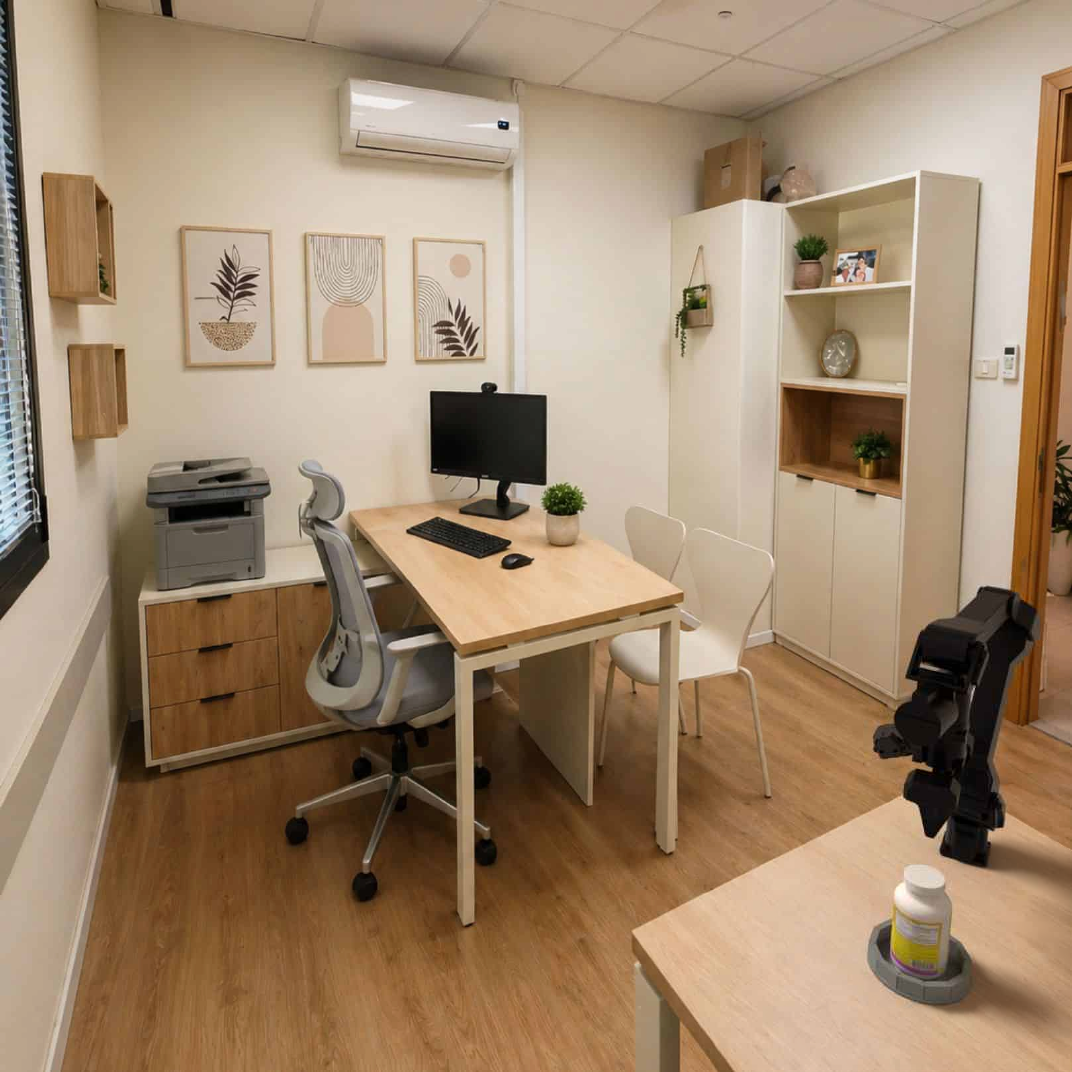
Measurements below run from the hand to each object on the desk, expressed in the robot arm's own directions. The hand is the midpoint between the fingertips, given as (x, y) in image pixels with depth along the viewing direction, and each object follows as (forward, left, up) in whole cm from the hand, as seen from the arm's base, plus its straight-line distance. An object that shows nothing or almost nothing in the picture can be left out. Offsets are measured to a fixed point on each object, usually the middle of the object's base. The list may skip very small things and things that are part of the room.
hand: (935, 819), depth 113 cm
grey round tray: (+14, +1, -13) cm, 19 cm away
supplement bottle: (+14, +1, -13) cm, 19 cm away
